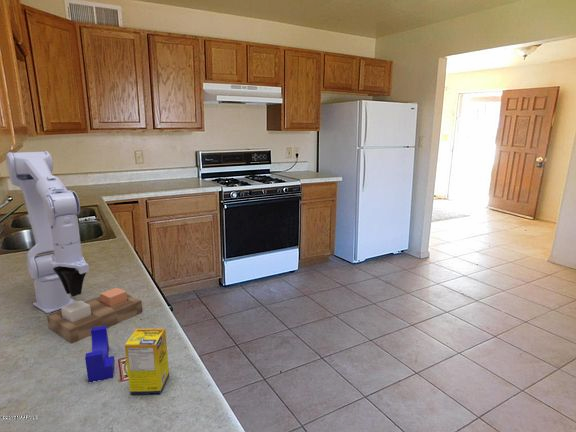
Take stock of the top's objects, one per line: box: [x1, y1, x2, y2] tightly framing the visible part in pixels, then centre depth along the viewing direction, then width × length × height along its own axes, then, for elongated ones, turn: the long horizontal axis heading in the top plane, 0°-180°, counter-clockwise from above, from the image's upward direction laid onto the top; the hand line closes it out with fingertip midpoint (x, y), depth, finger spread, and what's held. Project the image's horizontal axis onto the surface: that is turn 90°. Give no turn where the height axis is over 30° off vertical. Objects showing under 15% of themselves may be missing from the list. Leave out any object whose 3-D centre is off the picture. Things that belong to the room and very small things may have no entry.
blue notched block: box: [84, 326, 115, 383], centre depth 80 cm, size 12×4×6 cm, turn 22°
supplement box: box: [124, 327, 170, 395], centre depth 73 cm, size 6×6×11 cm
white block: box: [60, 299, 91, 323], centre depth 94 cm, size 5×5×4 cm
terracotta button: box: [99, 287, 128, 307], centre depth 102 cm, size 5×5×4 cm
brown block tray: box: [46, 293, 143, 344], centre depth 99 cm, size 12×19×4 cm, turn 145°
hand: (73, 293), depth 93 cm, fingers closed
